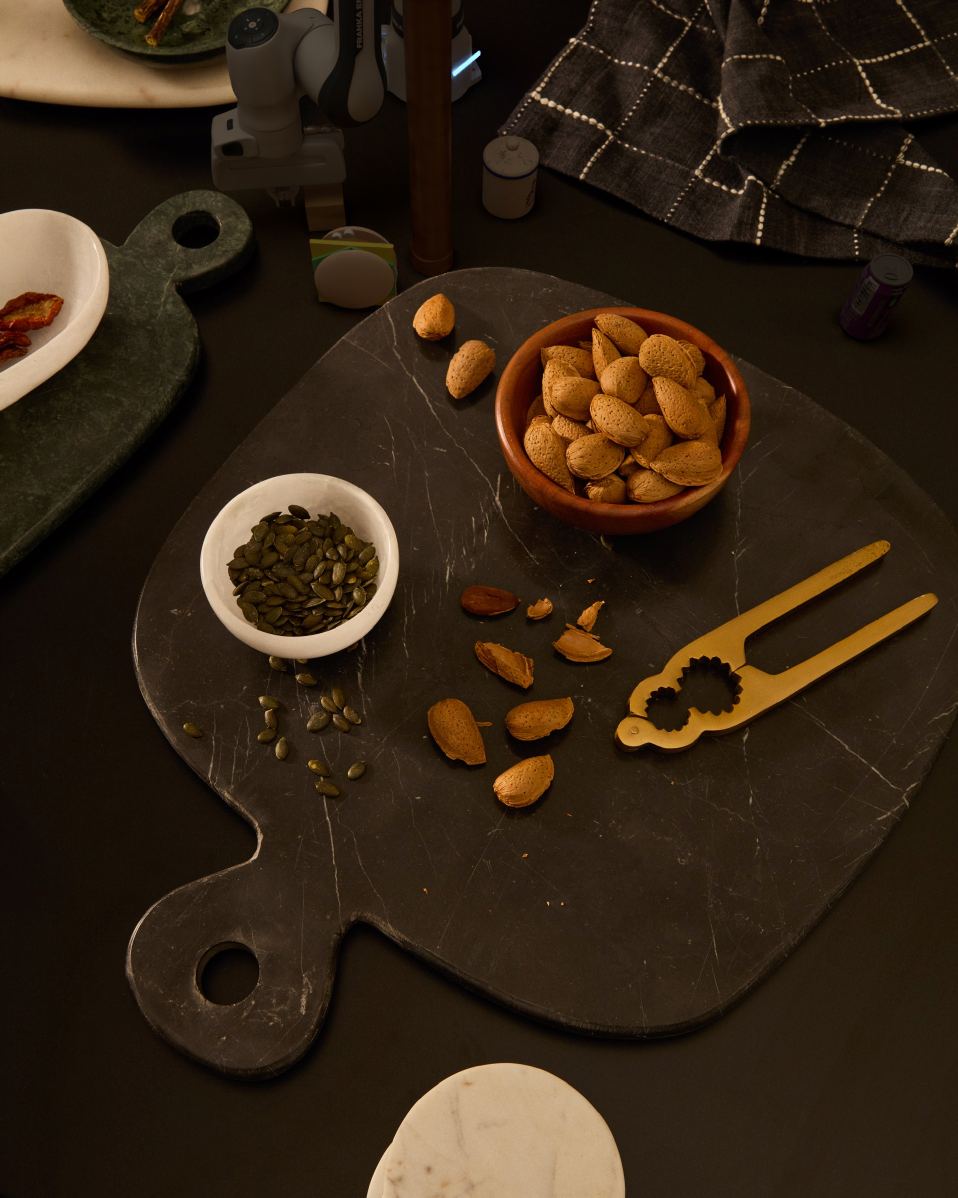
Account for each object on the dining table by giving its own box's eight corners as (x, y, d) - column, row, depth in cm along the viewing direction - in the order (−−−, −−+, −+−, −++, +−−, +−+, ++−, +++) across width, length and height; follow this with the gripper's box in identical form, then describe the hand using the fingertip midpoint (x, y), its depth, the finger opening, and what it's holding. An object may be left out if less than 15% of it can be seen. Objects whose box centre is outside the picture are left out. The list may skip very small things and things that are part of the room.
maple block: (307, 204, 159) (303, 179, 155) (343, 201, 160) (341, 176, 155) (309, 231, 157) (305, 206, 152) (346, 228, 157) (343, 204, 153)
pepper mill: (408, 245, 156) (392, -91, 111) (450, 242, 157) (452, -94, 111) (412, 277, 153) (398, -54, 108) (455, 274, 154) (459, -57, 108)
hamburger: (400, 276, 153) (396, 216, 143) (395, 317, 150) (391, 259, 139) (324, 271, 153) (314, 211, 143) (317, 312, 150) (307, 254, 139)
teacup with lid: (537, 220, 159) (544, 161, 149) (482, 221, 159) (484, 162, 148) (531, 168, 165) (537, 107, 154) (477, 169, 164) (479, 108, 154)
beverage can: (882, 346, 150) (916, 290, 139) (836, 338, 151) (866, 282, 140) (883, 311, 153) (916, 254, 142) (838, 303, 154) (868, 246, 143)
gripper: (341, 109, 145) (349, 185, 157) (201, 118, 143) (221, 194, 155) (344, 138, 142) (352, 213, 154) (202, 148, 140) (222, 223, 153)
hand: (285, 203), depth 155 cm, fingers closed
